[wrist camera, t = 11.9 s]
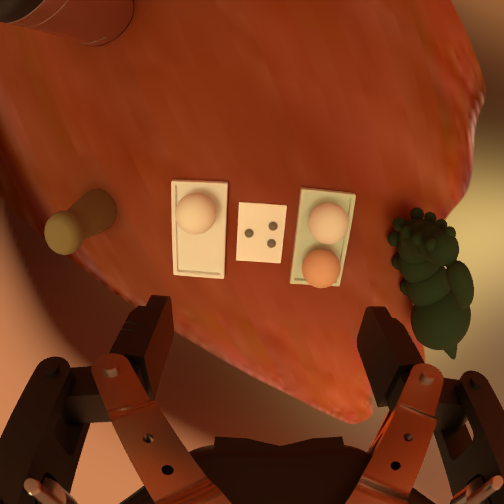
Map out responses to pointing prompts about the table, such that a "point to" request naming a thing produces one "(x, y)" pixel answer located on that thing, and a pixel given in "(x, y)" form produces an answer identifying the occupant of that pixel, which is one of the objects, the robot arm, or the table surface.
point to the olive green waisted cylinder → (80, 222)
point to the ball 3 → (321, 268)
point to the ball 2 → (328, 223)
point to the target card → (260, 232)
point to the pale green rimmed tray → (303, 237)
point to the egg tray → (200, 245)
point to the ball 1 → (195, 213)
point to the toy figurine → (433, 280)
